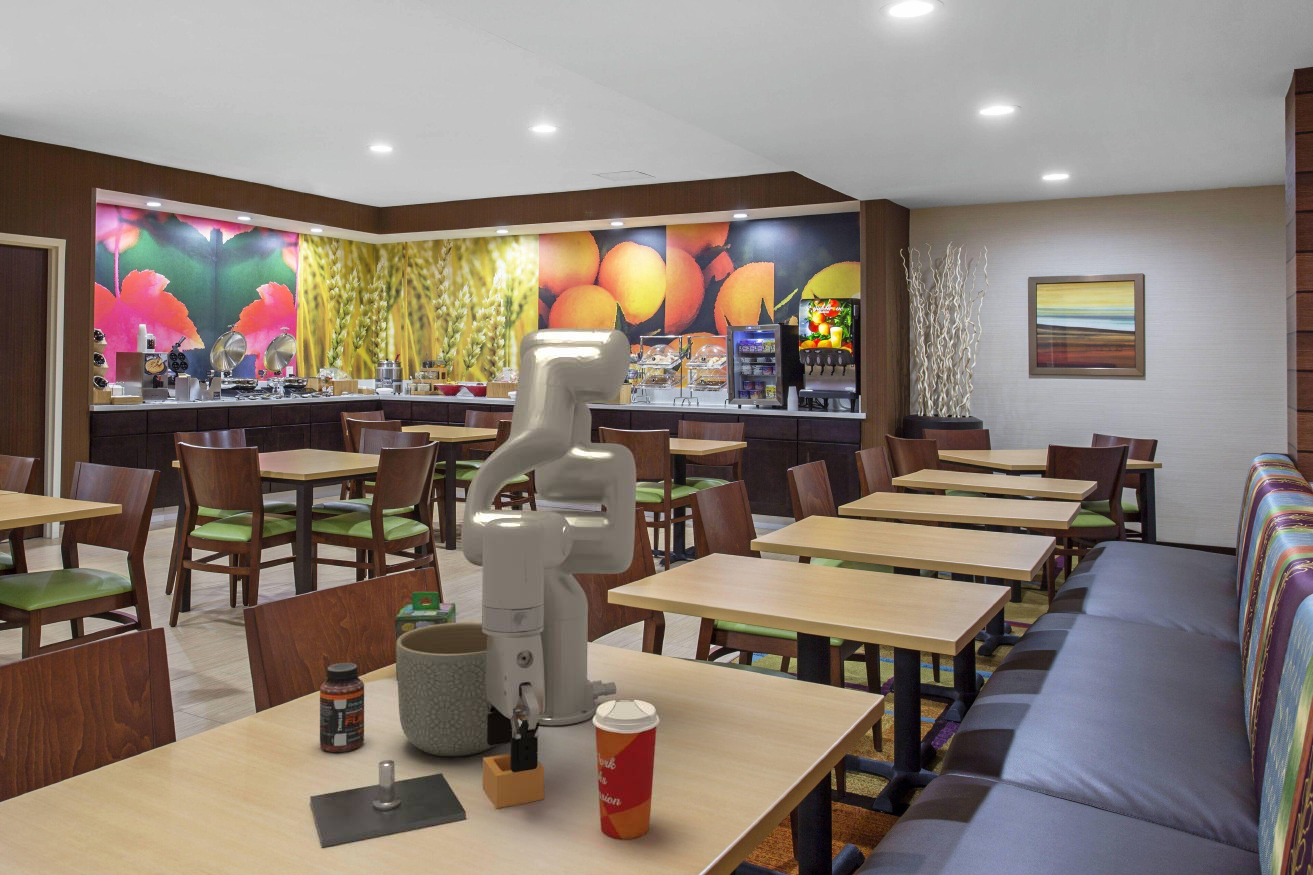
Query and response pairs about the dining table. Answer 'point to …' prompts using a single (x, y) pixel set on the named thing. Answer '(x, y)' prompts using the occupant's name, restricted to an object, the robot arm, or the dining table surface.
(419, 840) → the dining table surface
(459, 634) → the planter
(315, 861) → the dining table surface
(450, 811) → the keeper plate
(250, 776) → the dining table surface
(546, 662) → the robot arm
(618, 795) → the paper cup
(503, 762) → the orange square collar
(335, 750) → the supplement bottle
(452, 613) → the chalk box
